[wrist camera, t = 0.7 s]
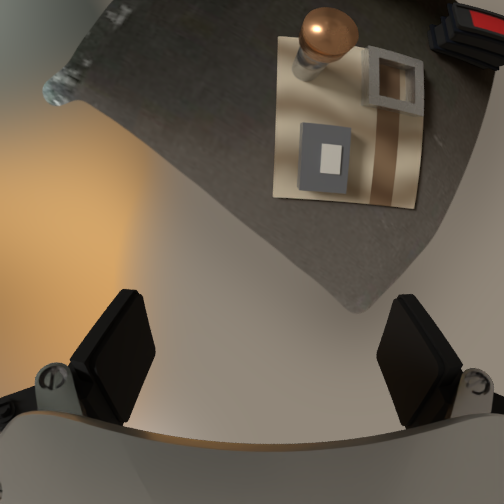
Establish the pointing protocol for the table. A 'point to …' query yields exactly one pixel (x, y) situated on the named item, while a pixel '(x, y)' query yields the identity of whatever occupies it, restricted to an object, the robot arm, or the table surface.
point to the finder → (323, 158)
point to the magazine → (470, 36)
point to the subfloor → (362, 130)
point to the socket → (412, 78)
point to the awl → (323, 41)
